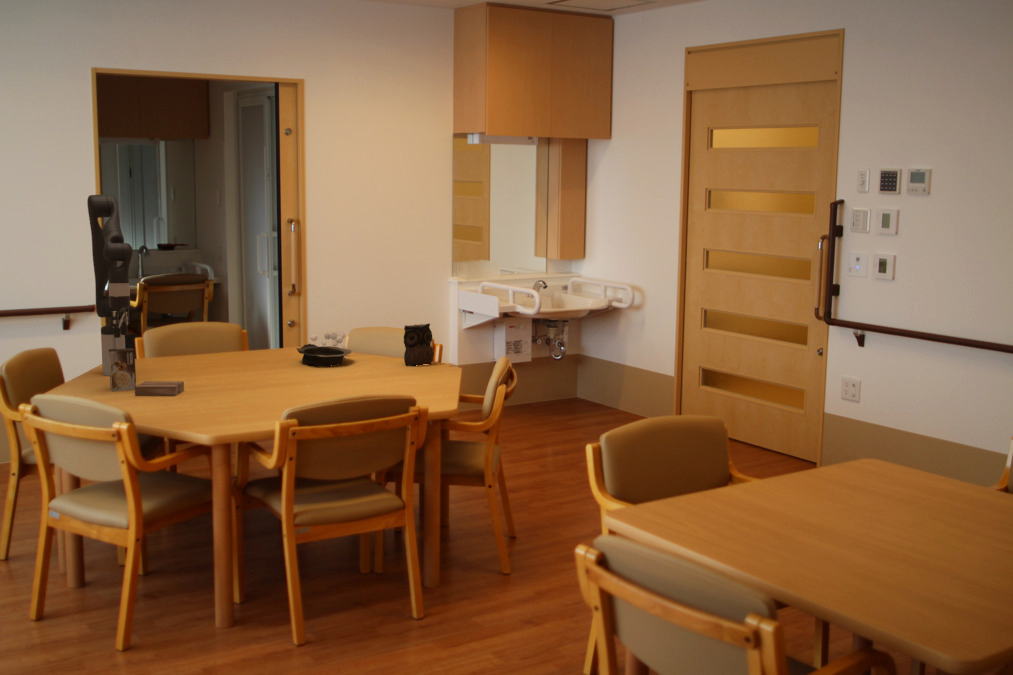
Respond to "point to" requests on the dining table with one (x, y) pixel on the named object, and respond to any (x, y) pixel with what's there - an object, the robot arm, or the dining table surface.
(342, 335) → the decorative flower
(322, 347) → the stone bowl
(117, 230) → the robot arm
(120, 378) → the coffee box
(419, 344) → the owl
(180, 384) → the walnut base block
